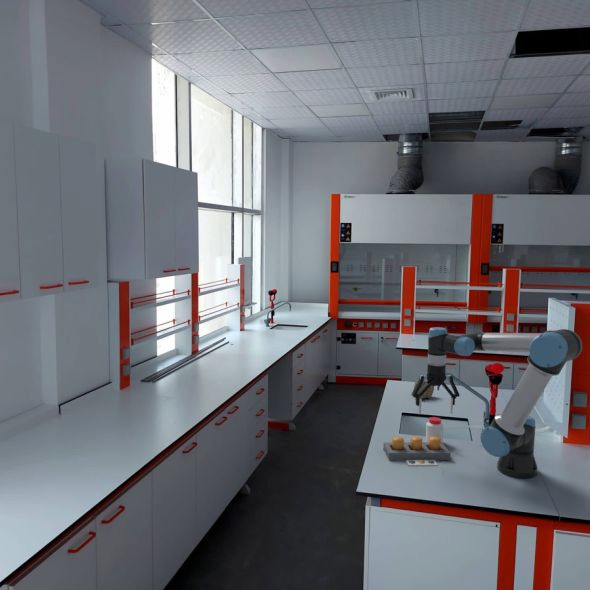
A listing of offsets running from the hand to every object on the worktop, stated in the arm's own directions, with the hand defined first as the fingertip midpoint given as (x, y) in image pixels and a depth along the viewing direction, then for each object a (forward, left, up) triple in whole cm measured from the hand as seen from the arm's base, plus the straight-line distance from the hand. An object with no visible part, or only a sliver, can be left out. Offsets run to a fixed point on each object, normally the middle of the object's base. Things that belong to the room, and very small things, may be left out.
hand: (434, 412), depth 238 cm
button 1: (+15, -1, -16) cm, 22 cm away
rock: (-19, -85, -19) cm, 89 cm away
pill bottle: (-5, -15, -19) cm, 25 cm away
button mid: (+7, -1, -16) cm, 18 cm away
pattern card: (+7, +8, -19) cm, 22 cm away
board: (+7, -1, -19) cm, 20 cm away
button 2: (-1, -1, -16) cm, 16 cm away
